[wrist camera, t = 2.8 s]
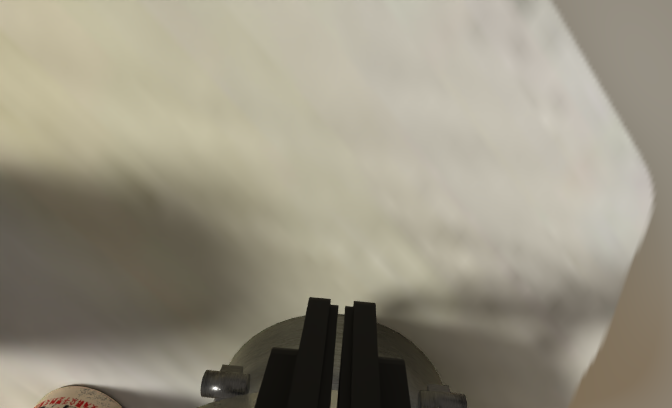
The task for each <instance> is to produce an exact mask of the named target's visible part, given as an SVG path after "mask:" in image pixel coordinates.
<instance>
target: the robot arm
mask: <svg viewBox="0 0 672 408" xmlns="http://www.w3.org/2000/svg"><path fill="white" fill-rule="evenodd" d="M330 303H331V299H324V298H313V297H310V298H309V302H308V307H307V311H306V316H305V321H304V326H303V331H302V335H301V340H300V345H299V349H289V348H278V347H273V348H272V350H271V353H270V356H269V359H268V363H267V366H266V370H265V373H264V376H263V380H262V383H261V387H260V390H259V393H258V397H257V400H256V403H255V407H254V408H330V405H331V393H332V380H333V368H334V355H335V343H336V331H337V318H338V305H330ZM337 408H411V404H410V396H409V388H408V381H407V373H406V366H405V361H404V359H398V358H387V357H378V343H377V323H376V304H375V303H370V302H358V301H354V306H353V307H349V306H345V315H344V327H343V338H342V350H341V361H340V373H339V385H338V397H337Z"/></svg>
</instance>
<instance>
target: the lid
mask: <svg viewBox="0 0 672 408" xmlns="http://www.w3.org/2000/svg"><path fill="white" fill-rule="evenodd" d="M258 393H259V392H256V393H250V394H245V395H239V396H235V397H231V398H227V399H223V400H219V401H216V402H212V403H209V404H206V405H203V406H200V407H198V408H254V407H255V403H256V400H257V397H258ZM337 397H338V390H332V393H331V405H330V408H337Z"/></svg>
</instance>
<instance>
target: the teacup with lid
mask: <svg viewBox="0 0 672 408" xmlns="http://www.w3.org/2000/svg"><path fill="white" fill-rule="evenodd" d="M34 408H122V407H121V406H120V405H119V404H118V403H117V402H116V401H115V400H114V399H112V398H111V397H109V396H108V395H106V394H104V393H102V392H100V391H97V390H95V389H91V388H87V387H81V386H68V387H62V388H59V389H56V390H53V391H52V392H50V393H48V394H47V395H45V396H44V397H43V398H42V399H41V400H40V401H39V403H38V404H37V405H36V406H35V407H34Z"/></svg>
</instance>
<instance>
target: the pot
mask: <svg viewBox="0 0 672 408" xmlns="http://www.w3.org/2000/svg"><path fill="white" fill-rule="evenodd" d="M304 321H305V316H302V317H297V318H292V319H289V320H286V321H283V322H280V323H277V324H275V325H273V326H271V327H269V328H267V329H265V330H263V331H261V332H260V333H258V334H257V335H255V336H254V337H252V338H251V339H250V340H249V341H248V342H247V343H245V344H244V345H243V346H242V347H241V349H240V350H239V351H238V352H237V353H236V354H235V356H234V357H233V359H232V361H231V362H230V364H229V365H222V368H221V370H220V371H212V370H206V372H205V373H204V376H203V379H202V384H201V396H202V397H209V398H215V399H214V401H213V402H216V401H219V400H223V399H227V398H231V397H235V396H239V395H245V394H250V393H256V392H259V390H260V387H261V383H262V380H263V376H264V373H265V370H266V366H267V363H268V359H269V356H270V353H271V350H272V348H273V347H278V348H289V349H299V345H300V340H301V335H302V331H303V326H304ZM343 327H344V315H338V318H337V331H336V343H335V355H334V368H333V380H332V390H338V385H339V373H340V361H341V350H342V338H343ZM377 343H378V357H387V358H398V359H404V361H405V366H406V373H407V381H408V388H409V396H410V404H411V408H467V401H466V397H465V395H464V394H457V393H450V389H449V386H447V385H442V383H441V380H440V378H439V375H438V373H437V372H436V370H435V368H434V367H433V365H432V364H431V362H430V361H429V360H428V359H427V357H426V356H425V355H424V354H423V352H422V351H420V350H419V349H418V348H417V347H416V346H415V345H414V344H413V343H412V342H410V341H409V340H407V339H406V338H405V337H403V336H402V335H400V334H399V333H397V332H395V331H393V330H391V329H389V328H387V327H385V326H383V325H380V324H378V323H377Z"/></svg>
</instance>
